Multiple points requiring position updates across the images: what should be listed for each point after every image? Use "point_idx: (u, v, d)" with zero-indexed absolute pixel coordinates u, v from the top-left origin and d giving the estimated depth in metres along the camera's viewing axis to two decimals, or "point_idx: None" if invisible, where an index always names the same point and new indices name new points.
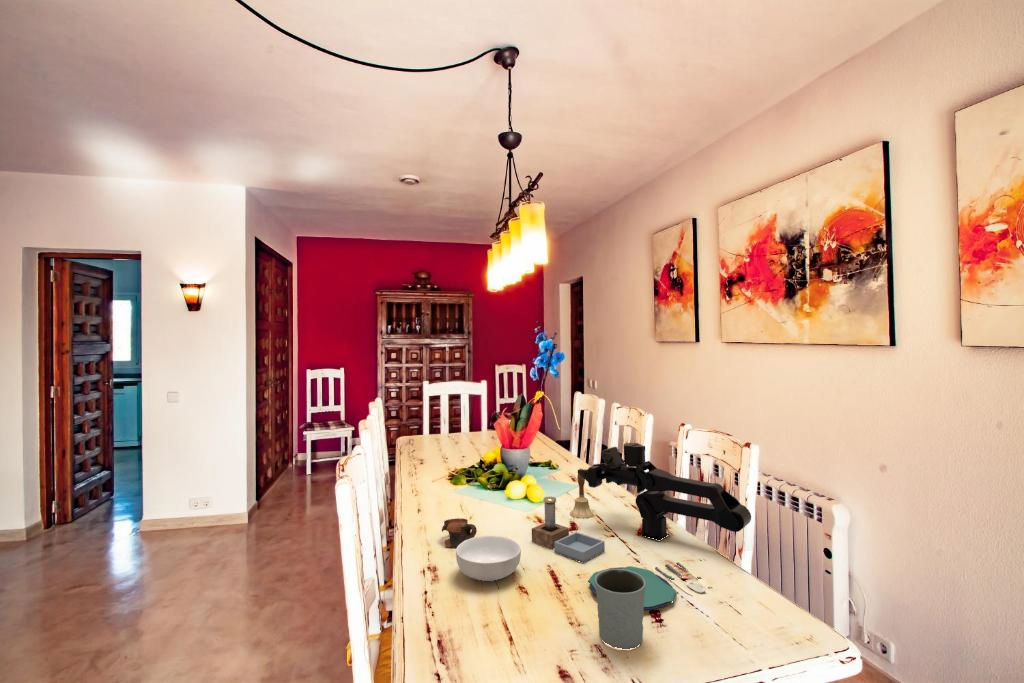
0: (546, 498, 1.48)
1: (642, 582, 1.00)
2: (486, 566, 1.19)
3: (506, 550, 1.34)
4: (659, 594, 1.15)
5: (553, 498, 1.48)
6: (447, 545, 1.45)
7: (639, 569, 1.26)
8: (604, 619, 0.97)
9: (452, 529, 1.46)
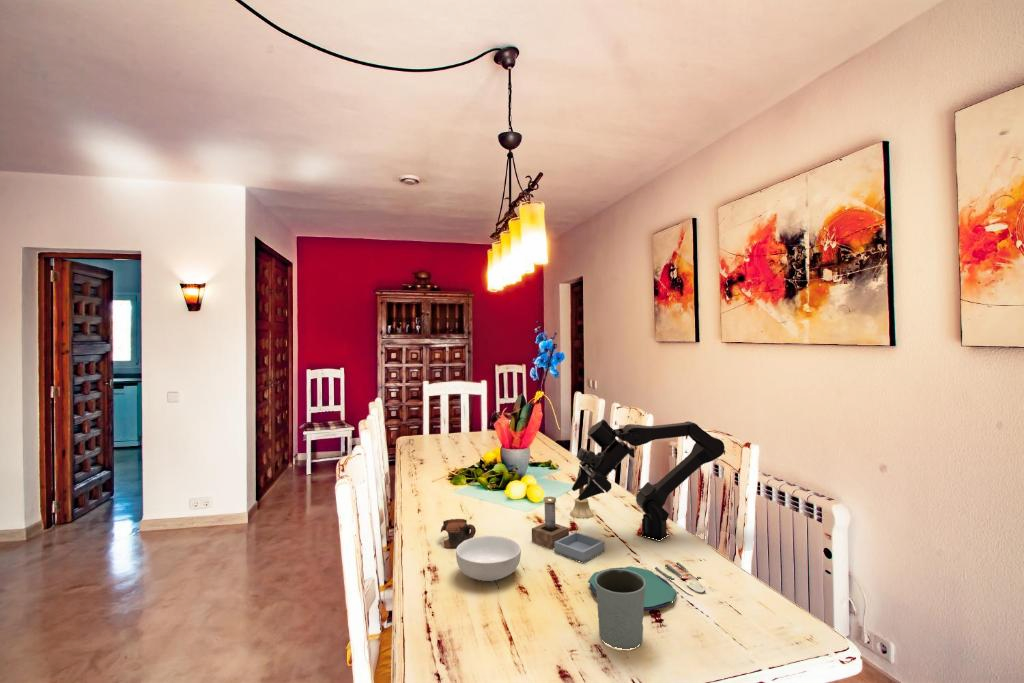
0: (546, 498, 1.48)
1: (642, 582, 1.00)
2: (486, 566, 1.19)
3: (506, 550, 1.34)
4: (659, 594, 1.15)
5: (553, 498, 1.48)
6: (446, 545, 1.45)
7: (639, 569, 1.26)
8: (604, 619, 0.97)
9: (451, 529, 1.46)
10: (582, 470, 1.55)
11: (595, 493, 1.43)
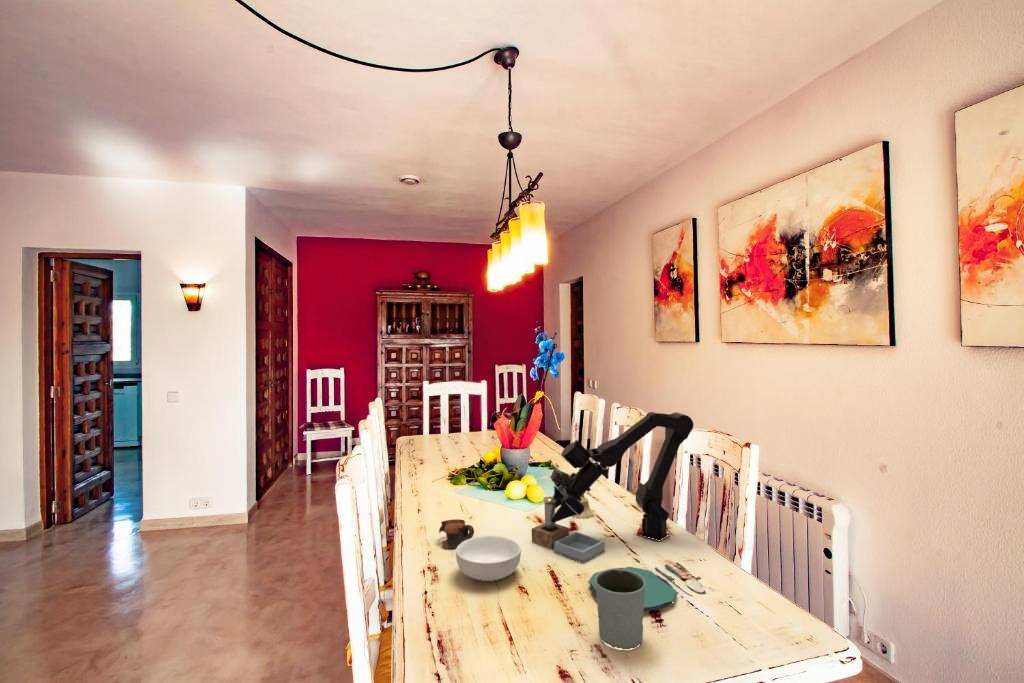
0: (546, 498, 1.48)
1: (642, 582, 1.00)
2: (486, 566, 1.19)
3: (506, 550, 1.34)
4: (659, 594, 1.15)
5: (553, 498, 1.48)
6: (444, 546, 1.44)
7: (639, 569, 1.25)
8: (604, 619, 0.97)
9: (449, 530, 1.45)
10: (556, 490, 1.54)
11: (568, 515, 1.42)
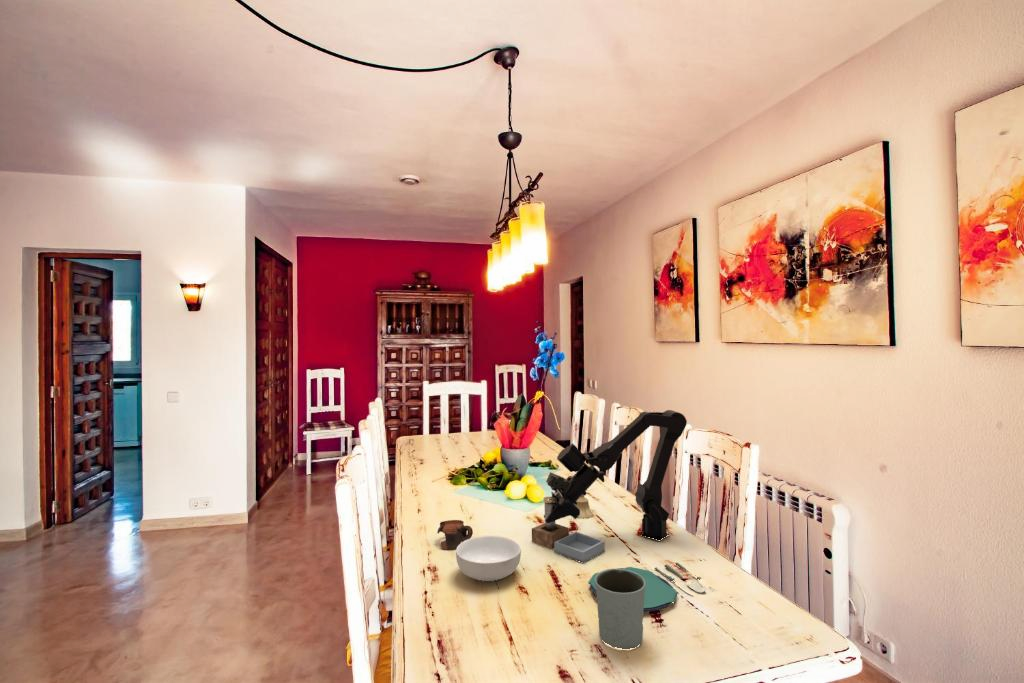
0: (546, 498, 1.48)
1: (642, 582, 1.00)
2: (486, 566, 1.19)
3: (506, 550, 1.34)
4: (660, 595, 1.15)
5: (553, 498, 1.48)
6: (443, 547, 1.44)
7: (639, 570, 1.25)
8: (604, 619, 0.97)
9: (448, 531, 1.45)
10: None
11: (562, 516, 1.45)
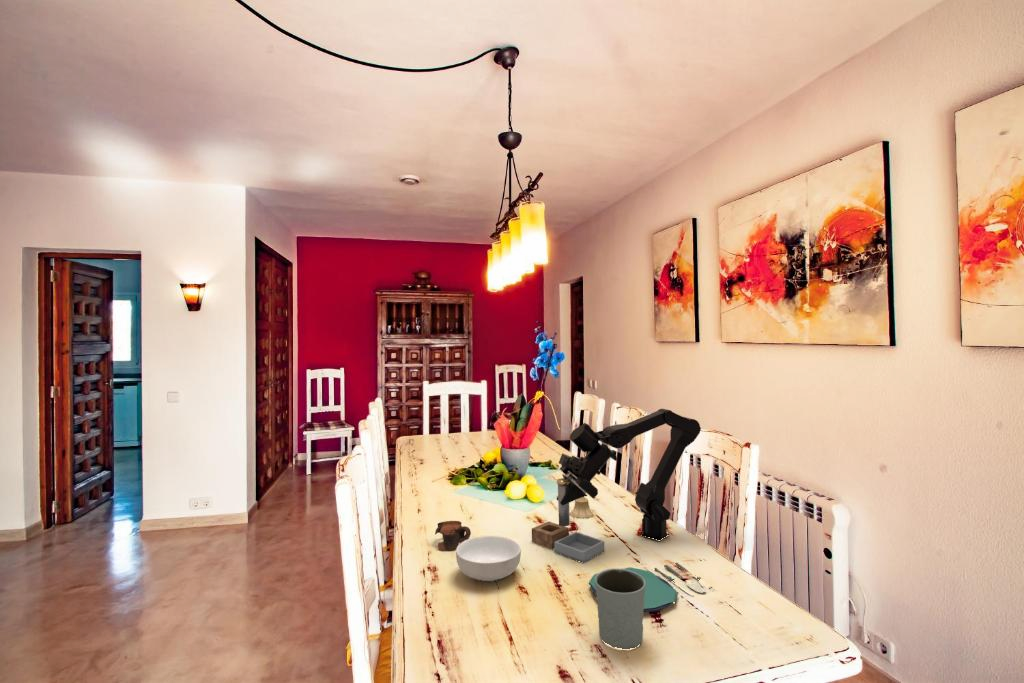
0: (559, 480, 1.44)
1: (642, 582, 1.00)
2: (486, 566, 1.19)
3: (506, 550, 1.34)
4: (660, 595, 1.14)
5: (566, 479, 1.44)
6: (441, 548, 1.43)
7: (639, 570, 1.25)
8: (604, 619, 0.97)
9: (446, 532, 1.44)
10: None
11: (577, 497, 1.41)
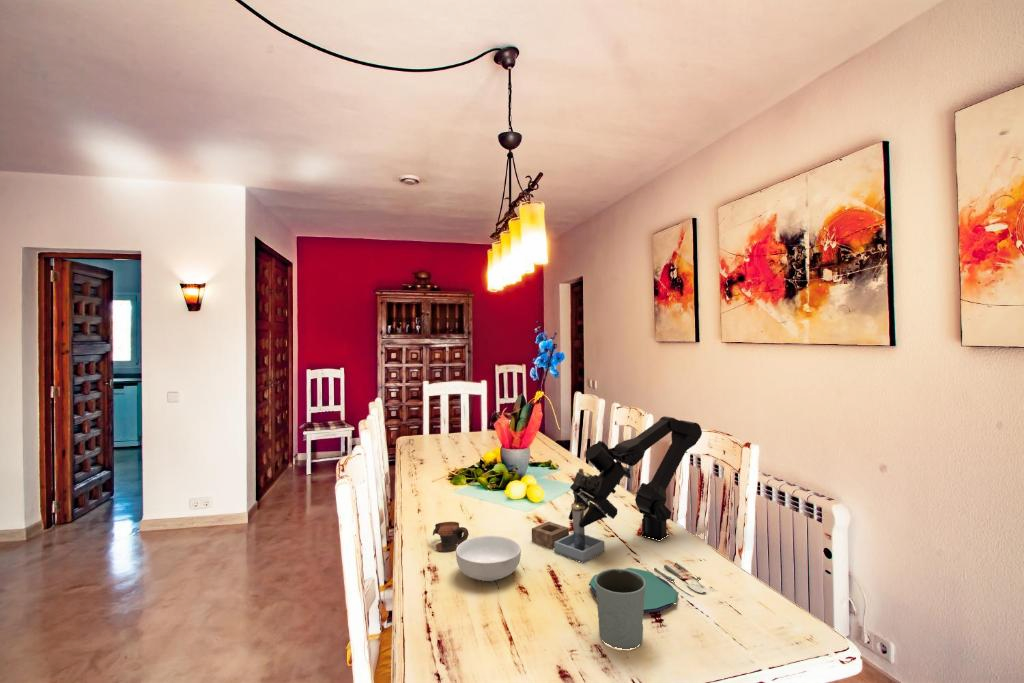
0: (574, 505, 1.40)
1: (642, 582, 1.00)
2: (486, 566, 1.19)
3: (506, 550, 1.34)
4: (661, 595, 1.14)
5: (581, 504, 1.41)
6: (438, 549, 1.42)
7: (639, 570, 1.25)
8: (604, 619, 0.97)
9: (444, 533, 1.43)
10: (578, 496, 1.45)
11: (597, 518, 1.37)
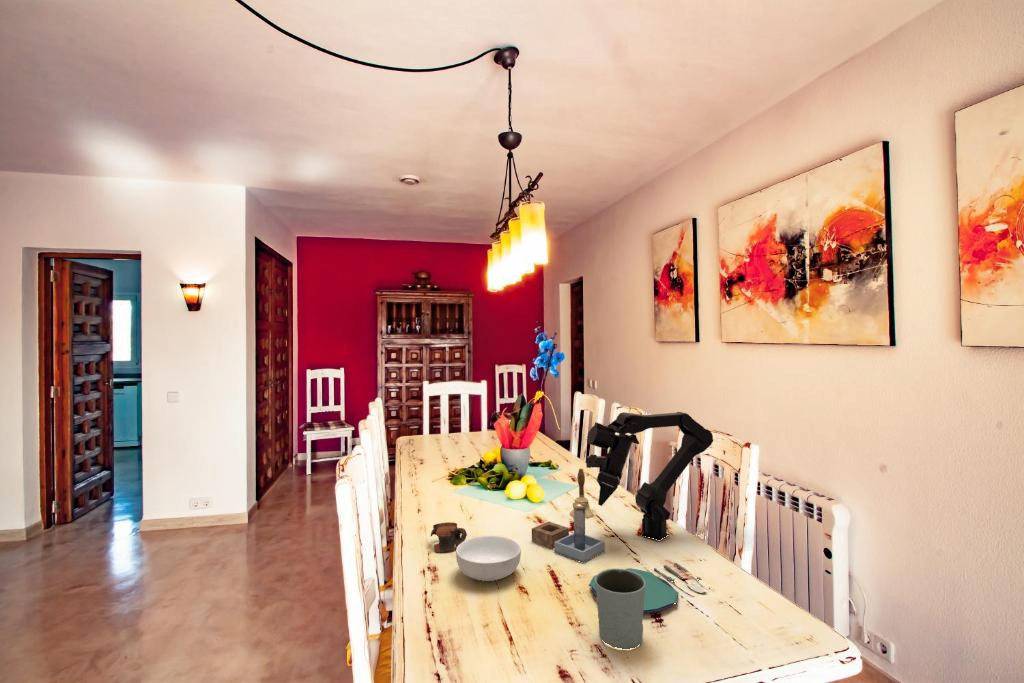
0: (575, 504, 1.41)
1: (642, 582, 1.00)
2: (486, 566, 1.19)
3: (506, 550, 1.34)
4: (661, 596, 1.14)
5: (582, 503, 1.41)
6: (436, 550, 1.42)
7: (639, 571, 1.25)
8: (604, 619, 0.97)
9: (442, 533, 1.43)
10: None
11: (610, 493, 1.42)
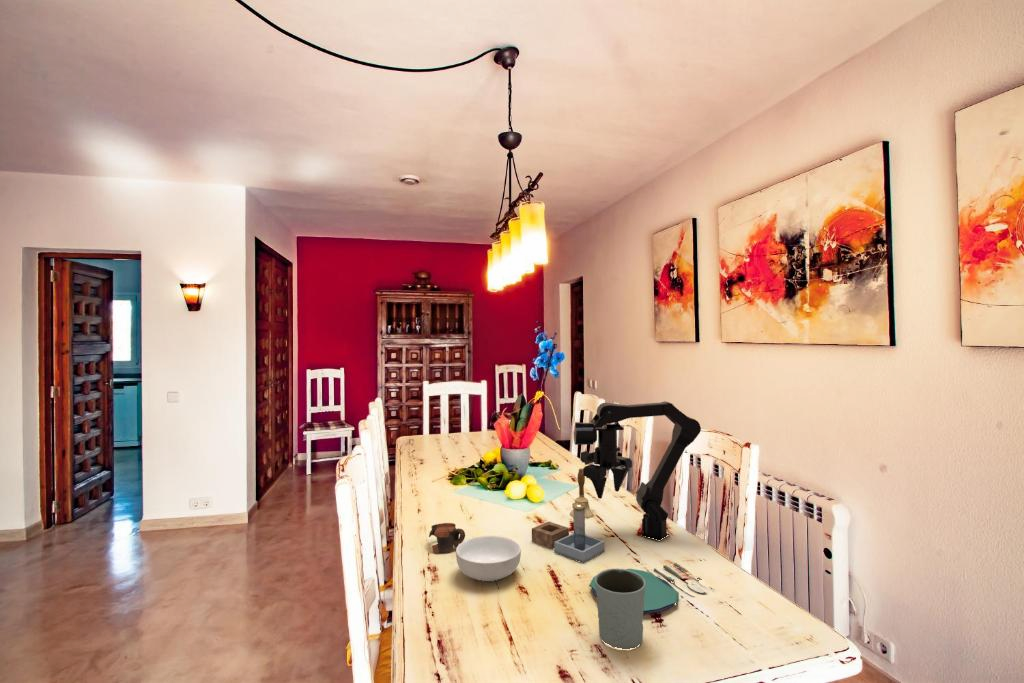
0: (575, 504, 1.40)
1: (642, 582, 1.00)
2: (486, 566, 1.19)
3: (506, 550, 1.34)
4: (661, 596, 1.14)
5: (582, 504, 1.41)
6: (435, 551, 1.41)
7: (639, 571, 1.25)
8: (604, 619, 0.97)
9: (440, 534, 1.42)
10: (612, 469, 1.56)
11: (601, 484, 1.45)
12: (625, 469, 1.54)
